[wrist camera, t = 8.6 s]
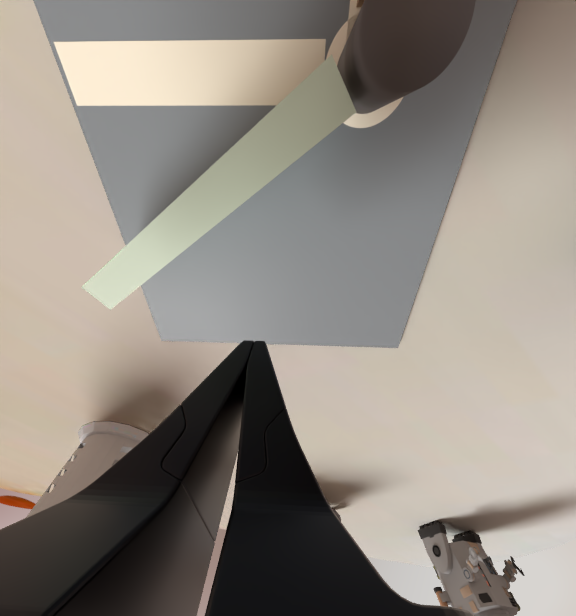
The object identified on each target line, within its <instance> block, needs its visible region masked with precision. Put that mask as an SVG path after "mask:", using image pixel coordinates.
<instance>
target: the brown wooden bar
mask: <svg viewBox="0 0 576 616" xmlns="http://www.w3.org/2000/svg"><path fill="white" fill-rule="evenodd" d="M475 1H476V0H357V5H356V7H361V9H360V12H359V14H358V16H357V19H356V21H355V23H354V25H353V28H352V30H351V32H350V35H349V37H348V39H347V41H346V44H345V46H344V48H343V51H342V53H341V55H340V58H339V61H338V64H337V68H338V70H339V72H340V75H341V77H342V79H343V82H344V84H345V86H346V89H347V91H348V93H349V96H350V98H351V100H352V103H353V105H354V107H355V110H356V113H357V114H367V113H371V112H373V111H375V110H377V109H379V108H381V107H384V106H386V105H388V104H390V103H392V102H394V101H396V100H398V99H400V98H402V97H404V96H406V95H408V94H410V93H412V92H414V91H416V90H418V89H420V88H422V87H424V86H425V85H427V84H429V83H430V82H432V81H433V80H434V79H436V78H437V77H438V76H439V75H440V74H441V73H442V72H443V71H444V70H445V69H446V68H447V67H448V65H449V64H450V63H451V61H452V60H453V59H454V57H455V56H456V54H457V52H458V51H459V49H460V47H461V45H462V43H463V41H464V39H465V37H466V35H467V32H468V30H469V27H470V24H471V21H472V17H473V12H474V8H475Z"/></svg>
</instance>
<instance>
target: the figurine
mask: <svg viewBox="0 0 576 616" xmlns="http://www.w3.org/2000/svg"><path fill="white" fill-rule="evenodd" d="M418 532H419V535H420V537H421V539H422V540H423V542H424V545H425V548H426V551H427V553H428V555H429V557H430V559H431V561H432V563H433V565H434V566H433V567H434V569H435V571H436V573H437V577H438V579H440V580H441V583H442V585H443V587H444V590H445V591H443V592H442V589H441V587H436V588H434V591H435V593H436V595H437V597H438V600H439V602H440V605H441V606H446V607H448V605H451V606H452V607H454V608H459V609H464V610H467V611H470V612H472V613H473V614H474V615H475V616H514V615H516V614H517V611H520V606H519V605H518V604H517V602H516V601H515V599H514V597H513V595H512V593H511V592H508V589H509V588H510V584H509V582H510V581H511V582H514V581H515V580H516V578H515V577H514V573H516V574H517V570H516V568H517V569H518V570H519V572H520V573H521V574H522V575H523V576H524V574H523V572H522V570H520V569H519V568H518V567H517V566H516V565H515V563H514V562H515V561H514V559H513V558H512V557H511V556H510V557H511V560H512V562H511V561H510V560H509V559H508V561H506V560H504V562H505V565H506V566H505V568H504V569H503V572H504V573H505V574H504V575H503V576H501V575H498V573H497V572H496V570H495V568H494V567H493V563H492V560H491V558H490V557H488V556H487V555H486V553H485V551H484V550H483V548H482V545H481V544H482V543H481V540H480V537H479V535H478V534H476V533H475V532H471V531H469V533H464V535H465V536H463V535H458V536H454V539H452V541H453V543H448V540H447V537H446V534H447V533H446V530H445V526H444V525H443V524H441V523H440V522H438V521H434V523H432V522H430V526H429V525H424V527H423V526H420V530H418Z"/></svg>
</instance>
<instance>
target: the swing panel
mask: <svg viewBox="0 0 576 616" xmlns="http://www.w3.org/2000/svg"><path fill="white" fill-rule="evenodd" d="M355 113H356V110H355V107H354V105H353V103H352V100H351V98H350V96H349V93H348V91H347V89H346V86H345V84H344V82H343V79H342V77H341V75H340V72H339V70H338V68H337V65H336V63H335V61H334V58H333V56H332V54H331V55H330V56H329V57H328V58H327V59H326V60H325V61H324V62H323V63H322V64H321V65H320V66H319V67H317V68H316V69H315V70H314V71H313V72H312V73H311V74H310V75H309V76H308V77H307V78H306V79H305V80H304V81H302V82H301V83H300V84H299V85H298V86H297V87H296V88H295V89H294V90H293V91H292V92H291V93H290V94H288V95H287V96H286V97H285V98H284V99H283V100H282V101H281V102H280V103H279V104H278V105H277V106H276V107H274V108H273V109H272V110H271V111H270V112H269V113H268V114H267V115H266V116H265V117H264V118H263V119H262V120H261V121H259V122H258V123H257V124H256V125H255V126H254V127H253V128H252V129H251V130H250V131H249V132H248V133H247V134H245V135H244V136H243V137H242V138H241V139H240V140H239V141H238V142H237V143H236V144H235V145H234V146H233V147H231V148H230V149H229V150H228V151H227V152H226V153H225V154H224V155H223V156H222V157H221V158H220V159H219V160H218V161H216V162H215V163H214V164H213V165H212V166H211V167H210V168H209V169H208V170H207V171H206V172H205V173H204V174H202V175H201V176H200V177H199V178H198V179H197V180H196V181H195V182H194V183H193V184H192V185H191V186H190V187H189V188H187V189H186V190H185V191H184V192H183V193H182V194H181V195H180V196H179V197H178V198H177V199H176V200H175V201H173V202H172V203H171V204H170V205H169V206H168V207H167V208H166V209H165V210H164V211H163V212H162V213H161V214H159V215H158V216H157V217H156V218H155V219H154V220H153V221H152V222H151V223H150V224H149V225H148V226H147V227H146V228H144V229H143V230H142V231H141V232H140V233H139V234H138V235H137V236H136V237H135V238H134V239H133V240H132V241H130V242H129V243H128V244H127V245H126V246H125V247H124V248H123V249H122V250H121V251H120V252H119V253H118V254H116V255H115V256H114V257H113V258H112V259H111V260H110V261H109V262H108V263H107V264H106V265H105V266H104V267H103V268H101V269H100V270H99V271H98V272H97V273H96V274H95V275H94V276H93V277H92V278H91V279H90V280H89V281H87V282H86V283H85V284H84V285H83V286H82V288H83V289H84V290H86V291H87V292H88V293H89V294H91V295H92V296H93V297H95V298H96V299H97V300H98V301H100V302H101V303H102V304H104V305H105V306H106V307H107V308H109V309H110V310H111V309H112V308H114V307H115V306H116V305H117V304H118V303H120V302H121V301H122V300H123V299H125V298H126V297H127V296H128V295H130V294H131V293H132V292H133V291H135V290H136V289H137V288H138V287H140V286H141V285H142V284H143V283H145V282H146V281H147V280H148V279H150V278H151V277H152V276H153V275H155V274H156V273H157V272H158V271H159V270H161V269H162V268H163V267H164V266H166V265H167V264H168V263H169V262H171V261H172V260H173V259H174V258H176V257H177V256H178V255H179V254H181V253H182V252H183V251H184V250H186V249H187V248H188V247H189V246H191V245H192V244H193V243H194V242H196V241H197V240H198V239H199V238H200V237H202V236H203V235H204V234H205V233H207V232H208V231H209V230H210V229H212V228H213V227H214V226H215V225H217V224H218V223H219V222H220V221H222V220H223V219H224V218H225V217H227V216H228V215H229V214H230V213H232V212H233V211H234V210H235V209H237V208H238V207H239V206H240V205H241V204H243V203H244V202H245V201H246V200H248V199H249V198H250V197H251V196H253V195H254V194H255V193H256V192H258V191H259V190H260V189H261V188H263V187H264V186H265V185H266V184H268V183H269V182H270V181H271V180H273V179H274V178H275V177H276V176H278V175H279V174H280V173H281V172H282V171H284V170H285V169H286V168H287V167H289V166H290V165H291V164H292V163H294V162H295V161H296V160H297V159H299V158H300V157H301V156H302V155H304V154H305V153H306V152H307V151H309V150H310V149H311V148H312V147H314V146H315V145H316V144H317V143H319V142H320V141H321V140H322V139H323V138H325V137H326V136H327V135H328V134H330V133H331V132H332V131H333V130H335V129H336V128H337V127H338V126H340V125H341V124H342V123H343V122H345V121H346V120H347V119H348V118H350V117H351V116H352V115H353V114H355Z"/></svg>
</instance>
